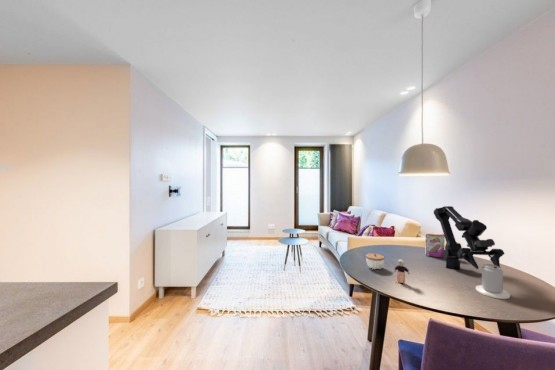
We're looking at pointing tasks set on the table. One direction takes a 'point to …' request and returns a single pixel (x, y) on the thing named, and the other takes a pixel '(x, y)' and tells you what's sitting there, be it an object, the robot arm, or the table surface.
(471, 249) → the robot arm
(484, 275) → the can
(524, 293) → the table surface
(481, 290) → the saucer
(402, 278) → the grandmother figurine
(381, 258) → the lidded jar
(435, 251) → the candy bar box
